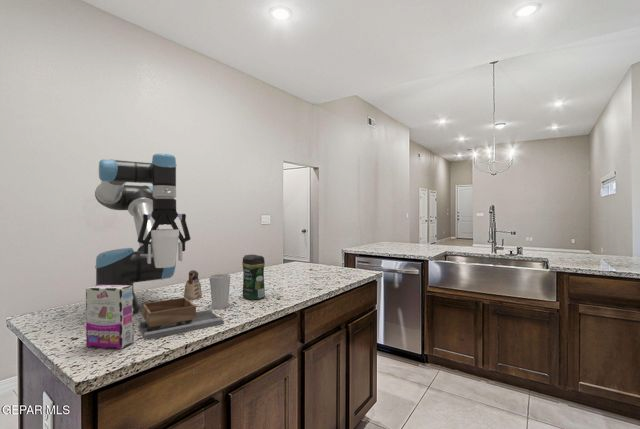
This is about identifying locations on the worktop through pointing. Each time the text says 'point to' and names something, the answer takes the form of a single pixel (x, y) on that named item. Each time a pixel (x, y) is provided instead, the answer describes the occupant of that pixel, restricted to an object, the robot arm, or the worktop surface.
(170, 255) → the foam cup
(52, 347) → the worktop surface
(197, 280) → the figurine
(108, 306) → the candy bar box
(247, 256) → the coffee jar
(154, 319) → the open wooden crate
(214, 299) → the cup
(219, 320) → the grey metal tray
